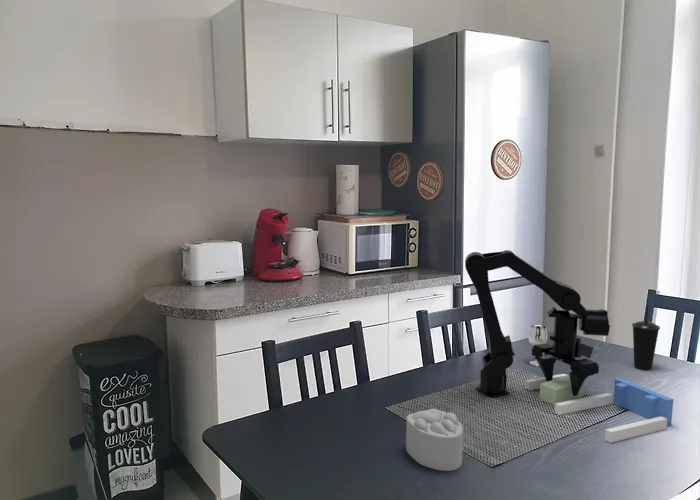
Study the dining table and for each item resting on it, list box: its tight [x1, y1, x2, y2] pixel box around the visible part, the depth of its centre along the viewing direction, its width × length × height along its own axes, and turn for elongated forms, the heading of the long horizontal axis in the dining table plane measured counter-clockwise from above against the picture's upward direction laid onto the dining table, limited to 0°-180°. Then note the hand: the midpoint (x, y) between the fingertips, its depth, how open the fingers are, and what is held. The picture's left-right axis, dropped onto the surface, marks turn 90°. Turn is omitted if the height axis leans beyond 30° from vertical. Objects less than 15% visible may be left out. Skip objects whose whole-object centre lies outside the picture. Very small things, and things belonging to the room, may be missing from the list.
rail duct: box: [525, 373, 674, 444], centre depth 140 cm, size 21×32×6 cm, turn 23°
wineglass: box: [527, 324, 548, 367], centre depth 173 cm, size 6×6×12 cm
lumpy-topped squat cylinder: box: [405, 408, 464, 472], centre depth 115 cm, size 10×13×9 cm
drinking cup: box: [631, 304, 661, 371], centre depth 169 cm, size 8×8×20 cm
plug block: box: [538, 374, 585, 406], centre depth 146 cm, size 12×5×4 cm, turn 122°
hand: (561, 389), depth 146 cm, fingers open, 9 cm apart
